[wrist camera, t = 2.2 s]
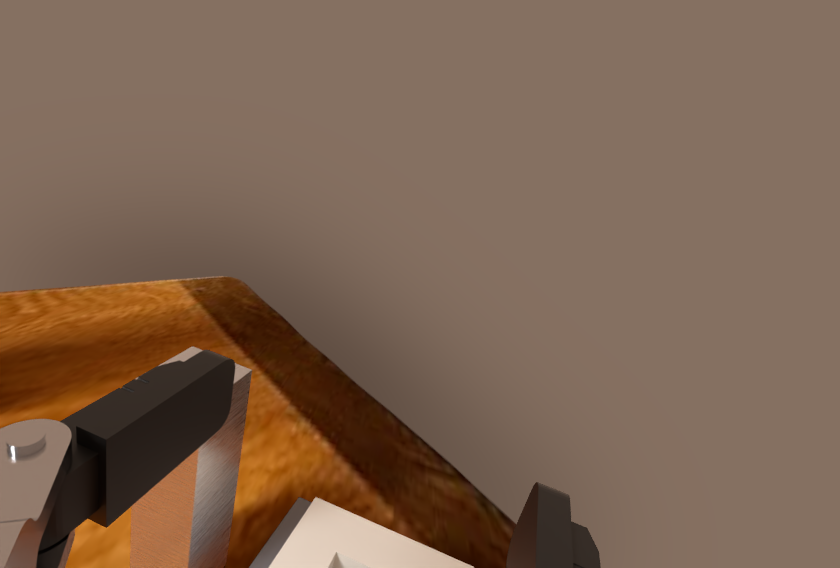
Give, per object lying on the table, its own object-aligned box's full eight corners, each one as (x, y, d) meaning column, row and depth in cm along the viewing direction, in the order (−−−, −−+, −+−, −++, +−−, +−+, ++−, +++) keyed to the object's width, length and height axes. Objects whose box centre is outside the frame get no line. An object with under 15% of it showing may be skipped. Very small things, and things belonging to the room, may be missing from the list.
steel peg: (129, 590, 29) (135, 378, 23) (177, 539, 32) (192, 346, 27) (183, 619, 28) (202, 407, 22) (226, 563, 32) (251, 369, 26)
